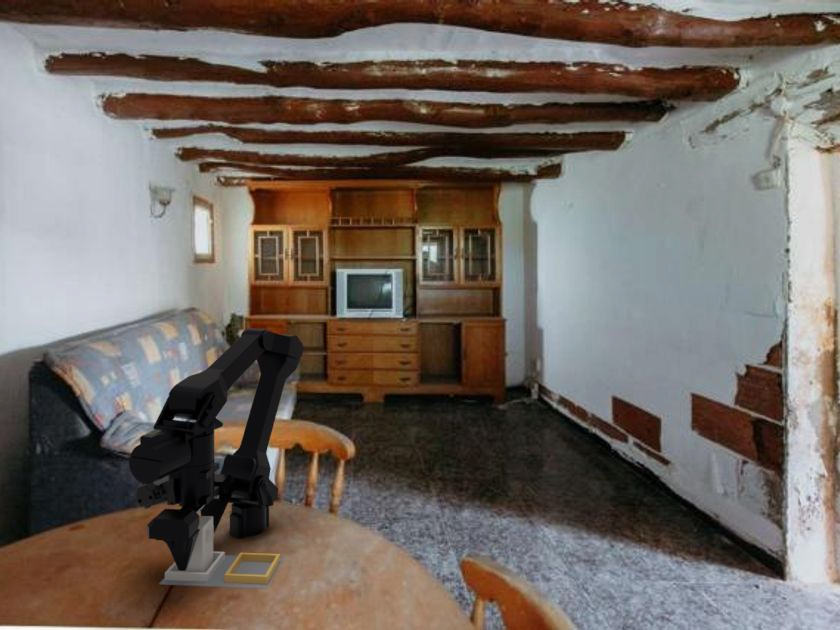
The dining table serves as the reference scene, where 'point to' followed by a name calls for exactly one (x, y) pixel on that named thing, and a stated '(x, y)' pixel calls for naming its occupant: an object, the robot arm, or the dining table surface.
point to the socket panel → (230, 571)
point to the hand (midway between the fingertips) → (196, 554)
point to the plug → (202, 547)
